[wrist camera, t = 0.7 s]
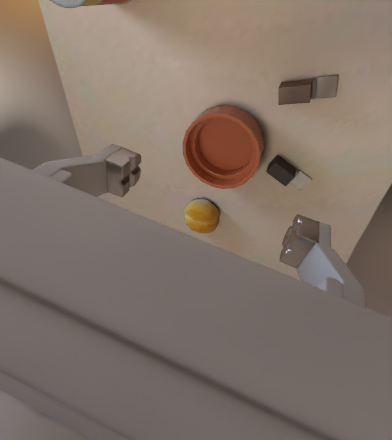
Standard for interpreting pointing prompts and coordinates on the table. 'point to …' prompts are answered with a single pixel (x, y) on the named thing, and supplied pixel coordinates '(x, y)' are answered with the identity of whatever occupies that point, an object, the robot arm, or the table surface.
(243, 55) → the table surface
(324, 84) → the block
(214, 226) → the bread roll
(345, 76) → the table surface
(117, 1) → the canned food
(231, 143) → the bowl
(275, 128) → the table surface
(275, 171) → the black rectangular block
